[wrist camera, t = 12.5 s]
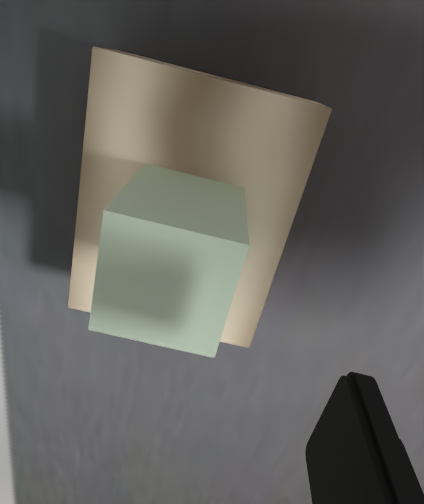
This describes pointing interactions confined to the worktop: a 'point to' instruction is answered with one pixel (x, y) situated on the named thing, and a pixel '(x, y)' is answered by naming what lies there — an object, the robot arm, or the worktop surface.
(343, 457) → the robot arm
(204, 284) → the block
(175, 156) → the riser block
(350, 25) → the worktop surface
